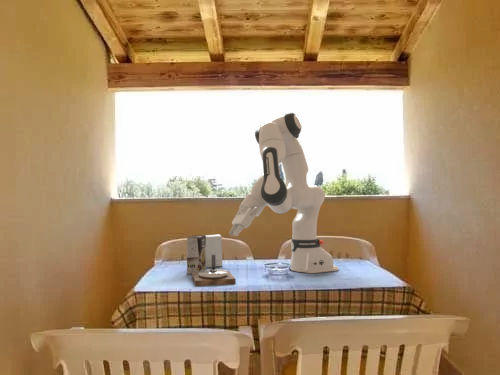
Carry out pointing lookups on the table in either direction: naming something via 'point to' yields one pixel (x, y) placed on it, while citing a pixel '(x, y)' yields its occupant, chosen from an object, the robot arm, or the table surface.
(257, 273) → the table surface
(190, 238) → the coffee box
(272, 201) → the robot arm
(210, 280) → the dial board
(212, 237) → the skincare box
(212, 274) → the dial
